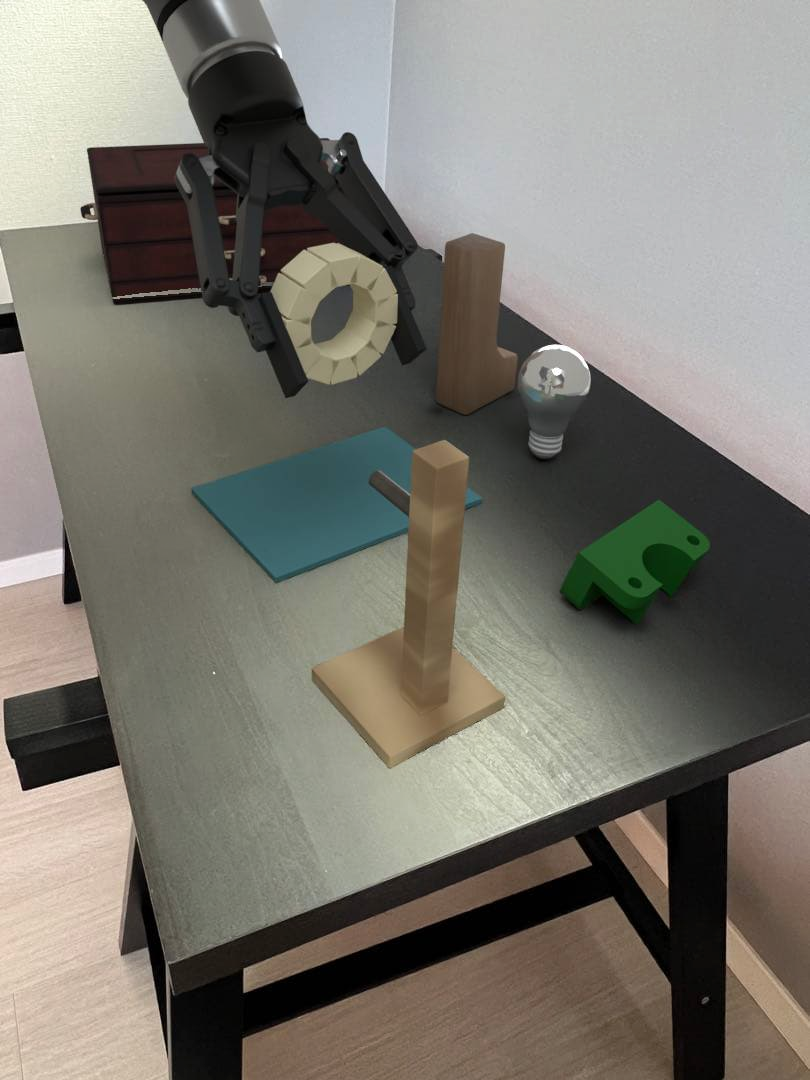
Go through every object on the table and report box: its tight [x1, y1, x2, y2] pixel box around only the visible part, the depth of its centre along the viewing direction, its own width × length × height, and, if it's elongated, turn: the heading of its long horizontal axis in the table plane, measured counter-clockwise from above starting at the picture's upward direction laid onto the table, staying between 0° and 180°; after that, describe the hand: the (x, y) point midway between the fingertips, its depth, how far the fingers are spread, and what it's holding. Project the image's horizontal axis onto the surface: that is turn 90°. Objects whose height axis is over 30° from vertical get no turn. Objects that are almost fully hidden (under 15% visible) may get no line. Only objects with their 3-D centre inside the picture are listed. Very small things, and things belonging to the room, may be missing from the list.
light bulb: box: [517, 344, 592, 461], centre depth 92 cm, size 7×7×12 cm
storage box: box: [80, 137, 350, 305], centre depth 130 cm, size 39×23×15 cm, turn 108°
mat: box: [190, 426, 483, 584], centre depth 88 cm, size 22×16×1 cm
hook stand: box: [311, 439, 506, 769], centre depth 62 cm, size 10×10×21 cm
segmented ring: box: [269, 243, 398, 386], centre depth 66 cm, size 9×3×9 cm, turn 125°
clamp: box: [559, 499, 711, 625], centre depth 77 cm, size 12×6×9 cm, turn 129°
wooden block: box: [435, 232, 519, 416], centre depth 101 cm, size 9×4×18 cm, turn 138°
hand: (357, 373), depth 66 cm, fingers closed on segmented ring, 9 cm apart
